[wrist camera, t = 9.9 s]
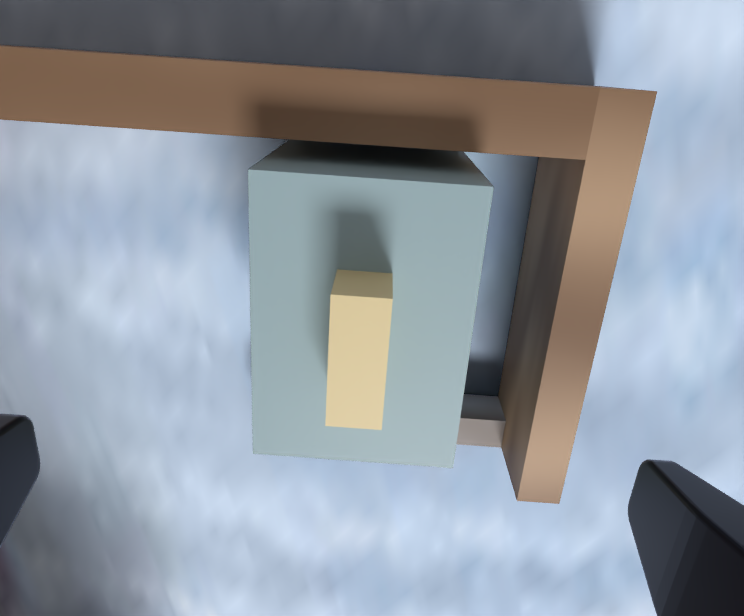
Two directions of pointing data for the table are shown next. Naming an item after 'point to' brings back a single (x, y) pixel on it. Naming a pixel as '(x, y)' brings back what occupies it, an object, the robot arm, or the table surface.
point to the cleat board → (425, 131)
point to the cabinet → (363, 299)
